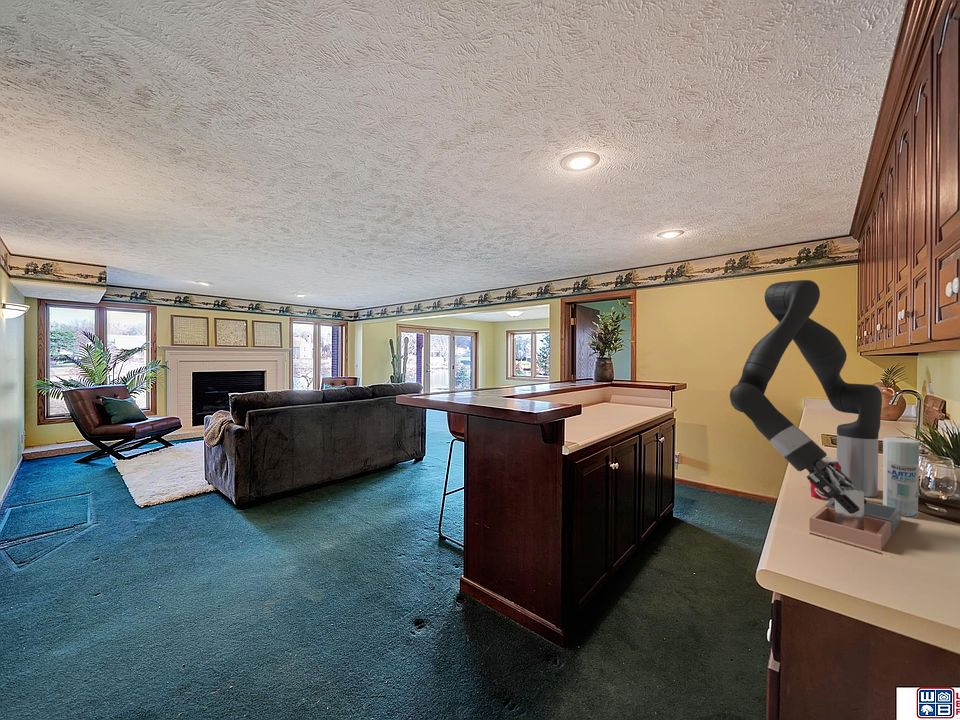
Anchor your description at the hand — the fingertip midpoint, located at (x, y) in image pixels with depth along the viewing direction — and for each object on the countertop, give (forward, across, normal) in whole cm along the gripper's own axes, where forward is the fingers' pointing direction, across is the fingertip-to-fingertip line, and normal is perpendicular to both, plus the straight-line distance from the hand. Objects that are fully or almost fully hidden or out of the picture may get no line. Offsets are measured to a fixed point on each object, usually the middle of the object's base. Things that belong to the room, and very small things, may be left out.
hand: (859, 508), depth 91 cm
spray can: (+8, +26, +3) cm, 27 cm away
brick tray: (+4, 0, +6) cm, 7 cm away
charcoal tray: (+4, +13, +6) cm, 15 cm away
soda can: (-3, +25, +13) cm, 29 cm away
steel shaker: (+3, 0, +6) cm, 7 cm away
